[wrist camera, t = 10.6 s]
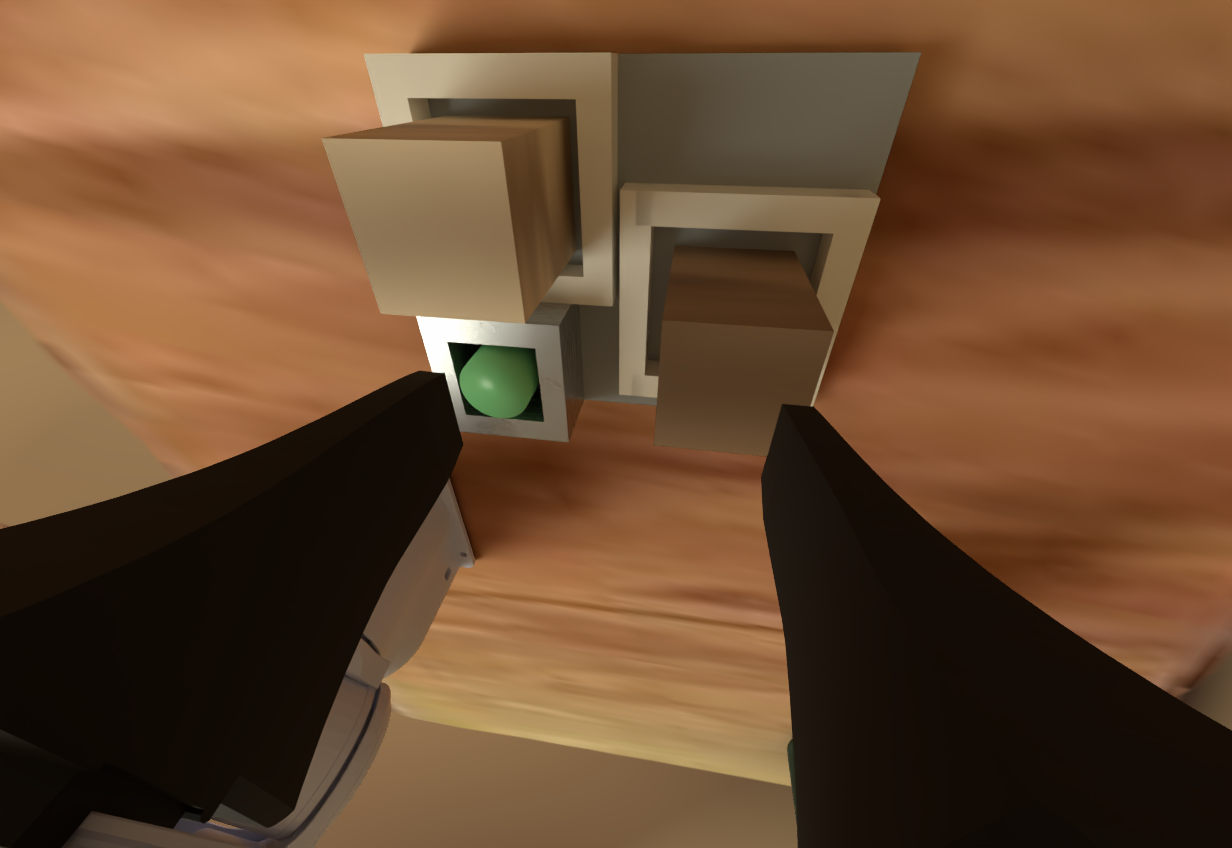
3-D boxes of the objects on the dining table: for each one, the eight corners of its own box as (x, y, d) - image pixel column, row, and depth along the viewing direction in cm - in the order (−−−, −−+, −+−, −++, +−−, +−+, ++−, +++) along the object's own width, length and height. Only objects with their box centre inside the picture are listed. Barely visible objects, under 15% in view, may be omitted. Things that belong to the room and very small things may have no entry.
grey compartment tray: (800, 402, 20) (809, 436, 18) (477, 375, 22) (456, 404, 20) (905, 53, 13) (939, 50, 11) (407, 55, 15) (363, 53, 13)
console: (584, 399, 20) (568, 442, 18) (477, 390, 21) (449, 430, 19) (578, 291, 17) (559, 325, 15) (453, 283, 18) (416, 316, 16)
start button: (551, 383, 19) (533, 421, 17) (492, 379, 20) (467, 415, 17) (545, 327, 18) (524, 360, 16) (480, 322, 18) (452, 355, 16)
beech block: (576, 250, 16) (525, 323, 12) (470, 245, 17) (380, 313, 12) (569, 117, 14) (500, 141, 9) (445, 115, 14) (321, 138, 10)
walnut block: (769, 356, 18) (793, 458, 13) (666, 348, 18) (654, 445, 14) (794, 251, 15) (834, 331, 11) (674, 245, 16) (662, 320, 11)
